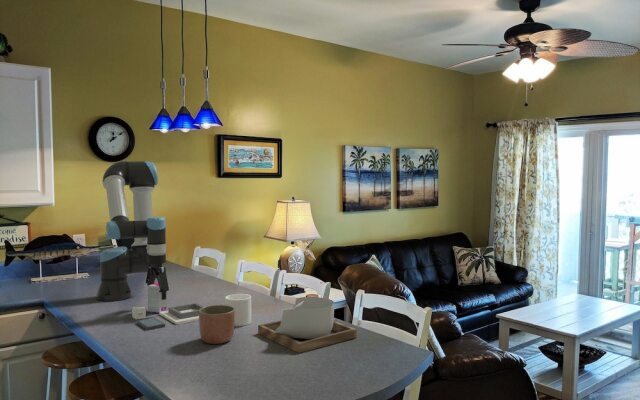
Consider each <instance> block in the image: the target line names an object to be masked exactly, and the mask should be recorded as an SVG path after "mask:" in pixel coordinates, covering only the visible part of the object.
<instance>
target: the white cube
mask: <svg viewBox="0 0 640 400" xmlns="http://www.w3.org/2000/svg"><path fill="white" fill-rule="evenodd" d="M131 310H132V311H131V318H133V319H134V318H135V319H134V320H140V319H144V318H145V317H146V314H147V313H146V311H147V309H146V307H144V306H143V305H139V306H132V307H131ZM145 319H146V318H145Z"/></svg>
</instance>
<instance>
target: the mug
mask: <svg viewBox="0 0 640 400" xmlns="http://www.w3.org/2000/svg"><path fill="white" fill-rule="evenodd" d="M224 300H225V301H224V302H225V303H224V305H227V306H232V307H234V308H235V324H234V328H235V327H246V326H249V325H250V324H251V323H252V295H250V294H247V293H246V294H245V293H234V294H233V293H232V294H228V295H226V296H225V297H224Z"/></svg>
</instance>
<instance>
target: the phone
mask: <svg viewBox="0 0 640 400" xmlns="http://www.w3.org/2000/svg"><path fill="white" fill-rule="evenodd" d="M136 324H137V325H138V326H140V327H141V328H143V329H144V330H146V331H150V330H155V329H160V328H161V329H162V328H165V327H166V323H164V322H162V321H161V320H159V319H157V318H156V317H151V318H145V319H141V320H140V319H138V320H136Z"/></svg>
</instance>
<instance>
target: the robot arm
mask: <svg viewBox="0 0 640 400" xmlns="http://www.w3.org/2000/svg"><path fill="white" fill-rule="evenodd" d="M157 171H158V170H157V166H156V165H155V164H154V162H152V161H142V160H141V161H140V160H139V161H136V160H135V161H133V160H132V161H129V160H128V161H127V160H126V161H124V160H121V161H117V162H114V163H112V164H111V165H110V166H108V168H106V170H105V171H104V174H103V175H102V176H103V177H102V185H103V188H104V189H105V191H106V198H107V207H108V214H109V221H107V222H106V226H105V229H106V230H105V231H106V232H105V233H106V238H107V239H109V240H125V239H134V242H133V243H132V244H131V248H129V249H128V247H127V246H125V245H123V246H115V247H111V248H106V249H103V250H102V251H101V252H100V257H99V258H100V259H99V262H100V283H99V286H98V289H97V293H96V300H98V301H102V302H114V301H115V302H116V301H122V300H127V299H129V298H132V293H133V292H132V289H131V286H130V283H129V281H128V275H134V274H146V278H145V284H147V287H148V286H149V285H152V284H154V283H156V282H155V281H156V280H157V283H158V284H159V288H160V291H159V296H160V308H162V307H166V308H167V306H168V305H167V304H168V301H167V300H168V299H167V298H168V297H167V296H168V294H167V292H168V291H170V287H169V282H168V281H169V280H168V278H167V270H166V268H167V267H166V266H163V265H164V264H165V263H166V262H167V255H166V252H167V241H166V238H167V237H166V235H167V233H166V231H167V229H166V227H167V223H166V217H164V216H153V200H152V199H153V198H152V197H153V196H152V195H153V194H152V192H153V191H154V190H155V186H157V185H158V182H159V180H158V179H159V177H158V175H159V174H158V172H157ZM125 186H129V191H130V192H132V200H133V201H132V202H133V203H132V204H133V205H132V206H133V220H130V219H129V212H128V211H129V210H128V206H127V200H126V194H125Z"/></svg>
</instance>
